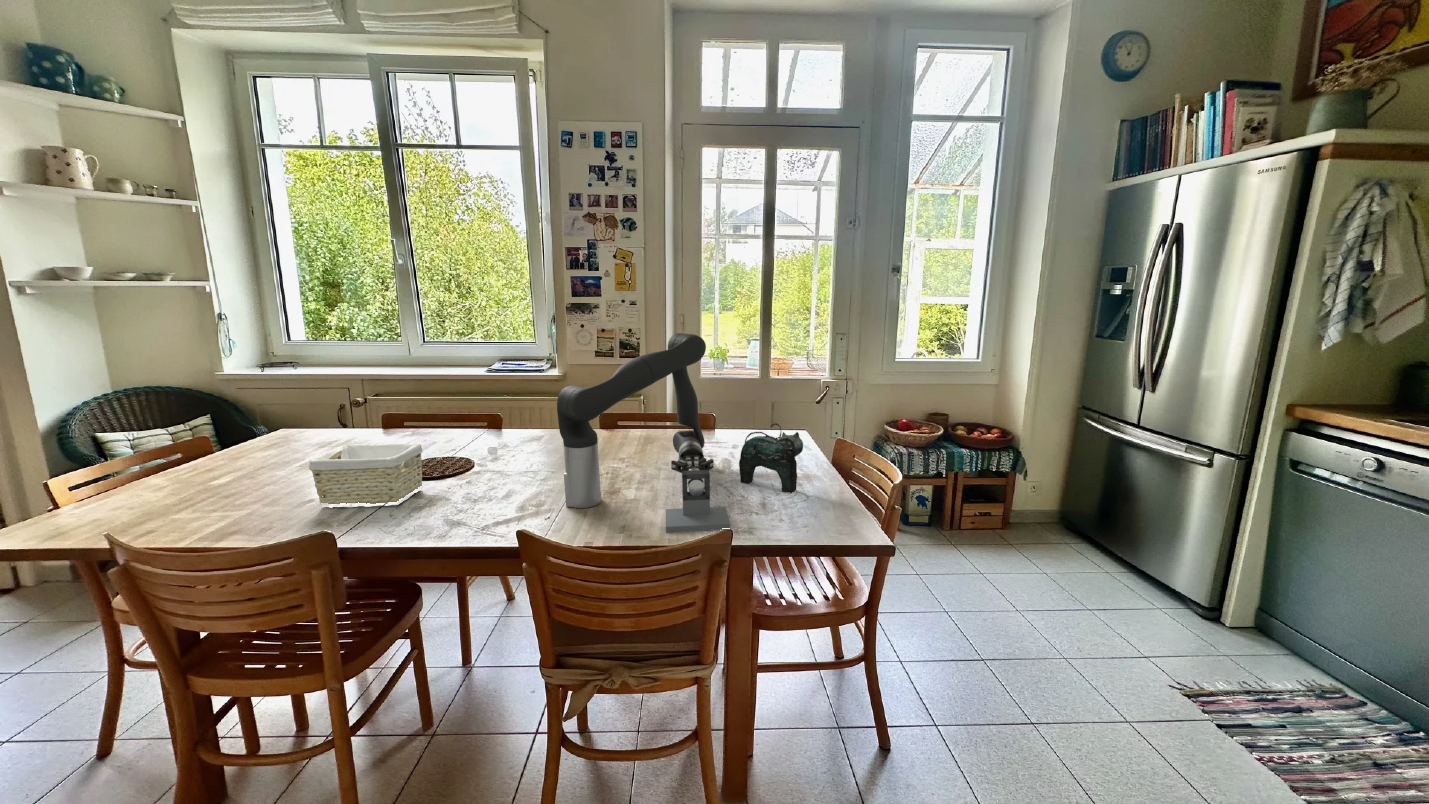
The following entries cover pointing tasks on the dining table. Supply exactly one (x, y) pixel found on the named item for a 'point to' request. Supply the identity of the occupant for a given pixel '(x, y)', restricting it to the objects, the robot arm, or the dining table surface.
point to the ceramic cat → (771, 457)
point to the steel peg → (695, 485)
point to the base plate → (696, 517)
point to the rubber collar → (696, 475)
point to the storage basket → (367, 473)
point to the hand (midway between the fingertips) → (694, 474)
